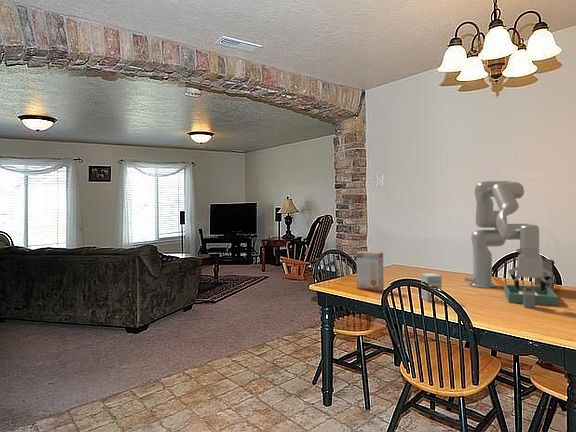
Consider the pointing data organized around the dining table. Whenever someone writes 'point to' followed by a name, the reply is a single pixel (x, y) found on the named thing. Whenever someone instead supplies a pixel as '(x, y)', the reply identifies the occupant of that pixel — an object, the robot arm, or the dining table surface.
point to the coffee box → (548, 266)
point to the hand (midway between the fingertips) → (529, 289)
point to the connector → (529, 297)
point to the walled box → (540, 296)
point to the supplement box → (433, 281)
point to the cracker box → (370, 271)
